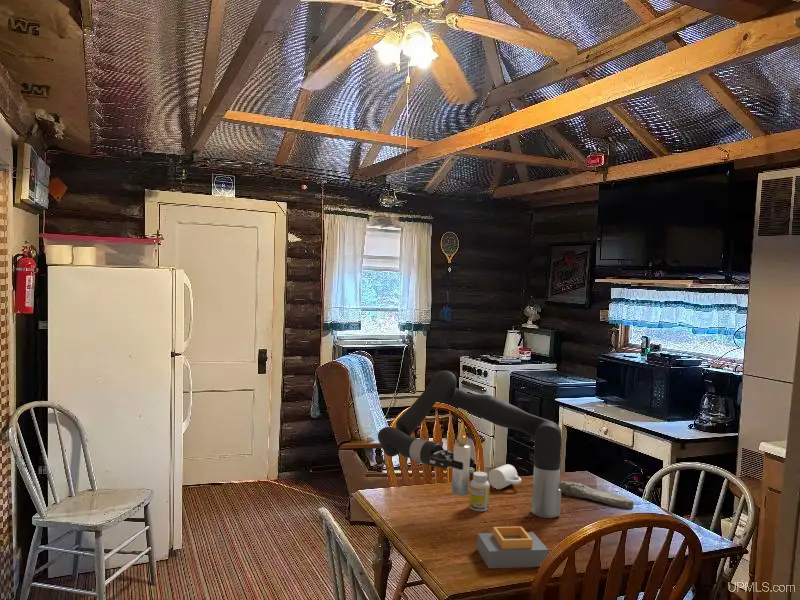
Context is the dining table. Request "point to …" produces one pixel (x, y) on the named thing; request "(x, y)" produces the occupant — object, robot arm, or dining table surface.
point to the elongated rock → (594, 494)
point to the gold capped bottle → (462, 476)
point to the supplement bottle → (479, 492)
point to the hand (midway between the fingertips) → (468, 464)
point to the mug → (503, 476)
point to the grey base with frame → (511, 548)
